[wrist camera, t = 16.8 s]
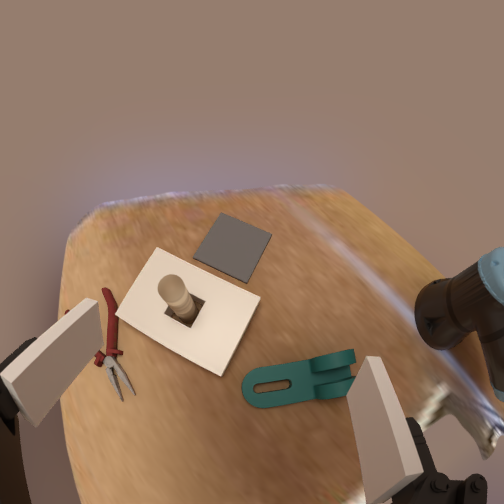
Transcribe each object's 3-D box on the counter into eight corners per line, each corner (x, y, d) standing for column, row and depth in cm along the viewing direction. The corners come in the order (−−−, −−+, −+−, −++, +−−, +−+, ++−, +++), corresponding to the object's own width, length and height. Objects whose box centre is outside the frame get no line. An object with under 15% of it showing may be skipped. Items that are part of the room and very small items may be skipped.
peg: (202, 309, 46) (189, 281, 34) (192, 327, 45) (175, 305, 32) (185, 300, 47) (166, 269, 34) (175, 317, 46) (152, 292, 33)
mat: (271, 235, 54) (271, 234, 53) (246, 283, 49) (246, 282, 49) (221, 213, 55) (221, 212, 55) (193, 258, 51) (192, 256, 50)
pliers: (107, 409, 37) (100, 410, 35) (67, 314, 44) (60, 310, 42) (158, 384, 40) (153, 384, 38) (111, 288, 48) (106, 283, 45)
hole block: (258, 304, 47) (260, 297, 44) (222, 376, 42) (220, 376, 38) (162, 256, 50) (157, 247, 47) (123, 319, 45) (114, 314, 41)
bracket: (342, 352, 44) (360, 346, 37) (348, 388, 41) (368, 388, 34) (239, 370, 42) (239, 368, 35) (244, 409, 39) (246, 415, 32)
